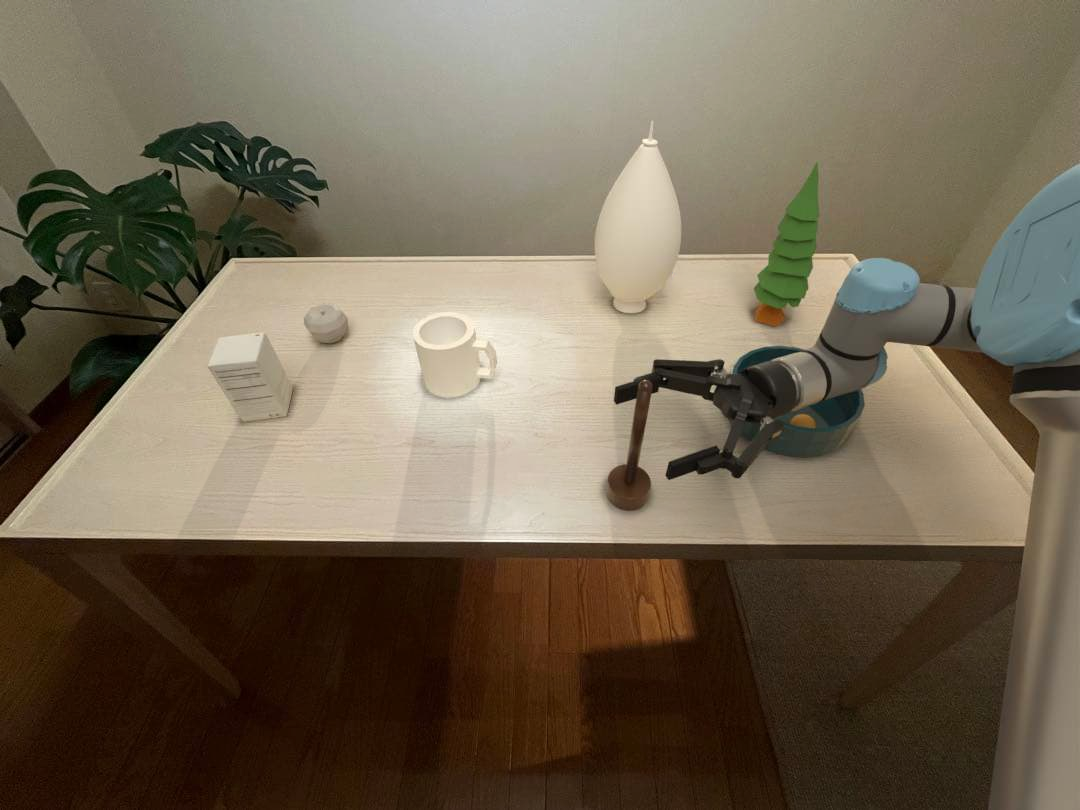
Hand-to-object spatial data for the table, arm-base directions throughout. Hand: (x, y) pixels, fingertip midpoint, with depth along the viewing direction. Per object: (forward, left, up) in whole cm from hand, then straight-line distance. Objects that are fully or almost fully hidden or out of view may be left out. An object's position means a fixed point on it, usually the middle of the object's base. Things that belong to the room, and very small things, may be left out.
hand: (640, 431), depth 66 cm
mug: (+33, +17, -14) cm, 40 cm away
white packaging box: (+39, +49, -14) cm, 64 cm away
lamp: (+42, -22, -14) cm, 50 cm away
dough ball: (0, -29, -11) cm, 31 cm away
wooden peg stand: (0, 0, -14) cm, 14 cm away
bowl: (+5, -31, -14) cm, 35 cm away
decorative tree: (+27, -46, -14) cm, 55 cm away
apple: (+54, +37, -14) cm, 67 cm away
